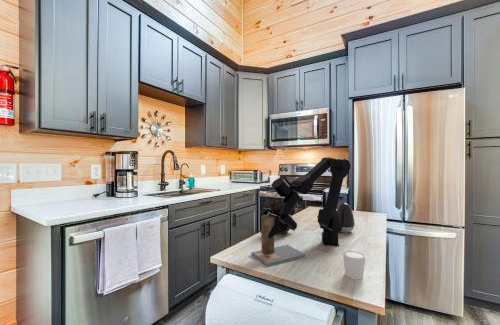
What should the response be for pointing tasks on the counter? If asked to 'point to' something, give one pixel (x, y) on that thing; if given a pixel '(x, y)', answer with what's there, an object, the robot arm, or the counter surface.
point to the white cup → (354, 264)
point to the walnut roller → (266, 227)
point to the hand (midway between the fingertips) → (264, 235)
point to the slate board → (278, 255)
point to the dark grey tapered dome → (345, 217)
